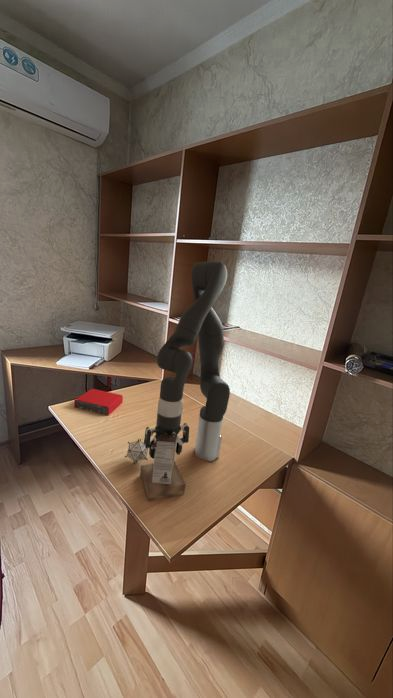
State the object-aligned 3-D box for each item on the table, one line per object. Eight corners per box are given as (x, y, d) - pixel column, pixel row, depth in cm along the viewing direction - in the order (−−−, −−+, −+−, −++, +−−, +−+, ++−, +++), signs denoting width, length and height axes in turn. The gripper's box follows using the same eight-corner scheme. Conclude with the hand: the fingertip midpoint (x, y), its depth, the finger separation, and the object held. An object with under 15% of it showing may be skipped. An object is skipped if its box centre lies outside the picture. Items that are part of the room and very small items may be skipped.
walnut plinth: (173, 470, 105) (174, 460, 104) (184, 494, 95) (185, 483, 94) (140, 475, 101) (141, 465, 100) (147, 501, 90) (148, 490, 89)
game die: (138, 452, 113) (140, 429, 110) (153, 463, 108) (155, 439, 105) (119, 462, 106) (120, 438, 103) (134, 474, 101) (136, 449, 98)
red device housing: (74, 408, 139) (74, 399, 138) (91, 397, 153) (91, 388, 151) (108, 416, 136) (108, 407, 135) (122, 404, 150) (122, 395, 148)
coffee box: (155, 464, 101) (159, 423, 97) (173, 466, 101) (178, 425, 97) (151, 483, 92) (155, 439, 88) (171, 485, 92) (176, 441, 88)
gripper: (186, 403, 96) (181, 445, 101) (144, 406, 91) (141, 451, 95) (195, 414, 90) (189, 459, 94) (150, 418, 84) (146, 466, 89)
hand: (165, 455), depth 95 cm, fingers open, 8 cm apart
